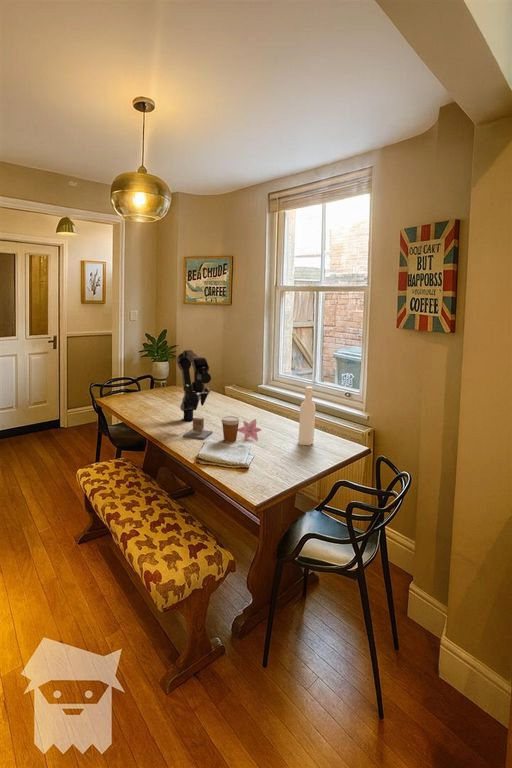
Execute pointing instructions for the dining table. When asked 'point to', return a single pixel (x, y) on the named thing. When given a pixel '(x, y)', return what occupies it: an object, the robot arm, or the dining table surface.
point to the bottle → (307, 419)
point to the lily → (250, 430)
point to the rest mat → (198, 436)
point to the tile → (178, 432)
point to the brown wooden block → (198, 425)
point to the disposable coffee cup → (230, 428)
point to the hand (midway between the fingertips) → (198, 407)
